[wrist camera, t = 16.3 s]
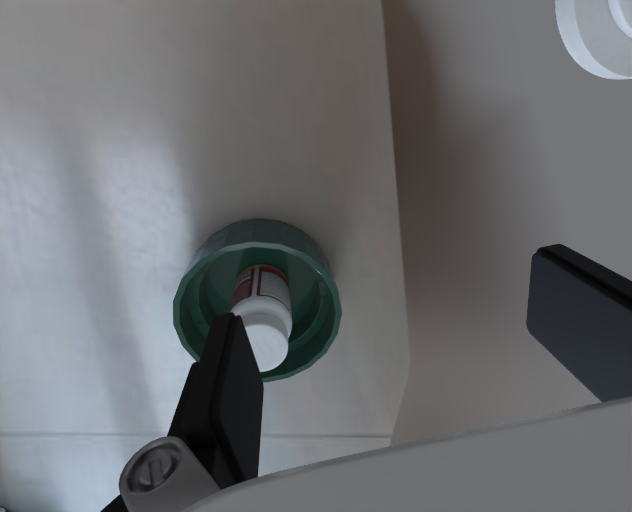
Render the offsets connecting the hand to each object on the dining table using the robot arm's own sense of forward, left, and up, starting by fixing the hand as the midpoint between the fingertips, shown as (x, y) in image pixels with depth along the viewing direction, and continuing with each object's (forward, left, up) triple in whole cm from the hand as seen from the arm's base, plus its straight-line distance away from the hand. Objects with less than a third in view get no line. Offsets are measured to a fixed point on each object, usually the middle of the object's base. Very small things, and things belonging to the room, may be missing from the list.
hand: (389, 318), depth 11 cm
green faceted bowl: (+8, +12, -27) cm, 31 cm away
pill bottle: (+8, +12, -27) cm, 30 cm away
